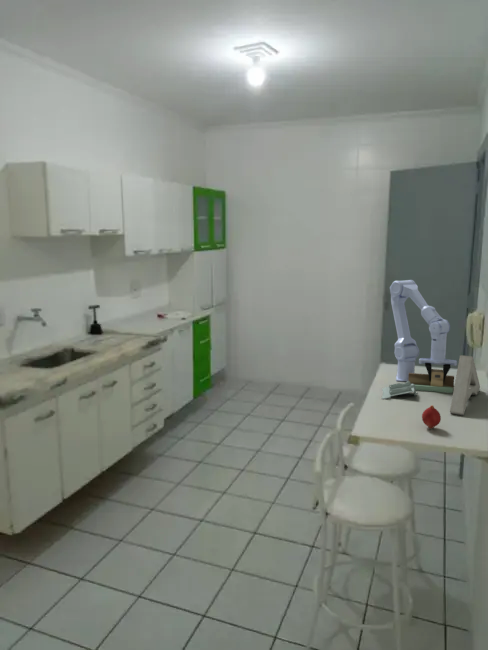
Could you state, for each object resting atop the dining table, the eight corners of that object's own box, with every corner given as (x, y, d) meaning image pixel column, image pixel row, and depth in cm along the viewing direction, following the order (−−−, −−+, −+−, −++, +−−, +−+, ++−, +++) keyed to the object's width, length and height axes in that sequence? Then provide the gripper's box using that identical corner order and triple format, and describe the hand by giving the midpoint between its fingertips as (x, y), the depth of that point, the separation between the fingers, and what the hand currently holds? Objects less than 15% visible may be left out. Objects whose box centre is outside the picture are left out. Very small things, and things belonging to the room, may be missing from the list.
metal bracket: (413, 377, 209) (415, 387, 195) (417, 391, 209) (419, 402, 195) (378, 384, 213) (378, 395, 199) (382, 397, 214) (382, 409, 199)
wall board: (408, 384, 219) (408, 372, 218) (453, 387, 214) (453, 375, 213) (408, 385, 218) (408, 373, 217) (453, 388, 212) (454, 376, 212)
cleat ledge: (410, 385, 217) (410, 380, 217) (450, 388, 213) (451, 383, 212) (411, 389, 211) (411, 385, 210) (452, 392, 206) (452, 388, 206)
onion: (418, 425, 170) (419, 402, 169) (435, 424, 171) (436, 402, 169) (425, 431, 165) (427, 408, 163) (443, 431, 165) (444, 407, 164)
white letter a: (471, 438, 201) (463, 413, 178) (459, 436, 204) (449, 411, 180) (480, 386, 209) (472, 356, 186) (468, 384, 211) (460, 355, 188)
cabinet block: (430, 383, 214) (431, 369, 213) (441, 384, 213) (442, 369, 212) (431, 387, 209) (431, 372, 208) (442, 388, 208) (443, 373, 207)
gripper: (420, 350, 207) (418, 382, 210) (458, 352, 203) (456, 385, 206) (419, 346, 214) (417, 378, 216) (456, 348, 210) (454, 380, 212)
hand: (436, 381), depth 211 cm, fingers closed on cabinet block, 4 cm apart
